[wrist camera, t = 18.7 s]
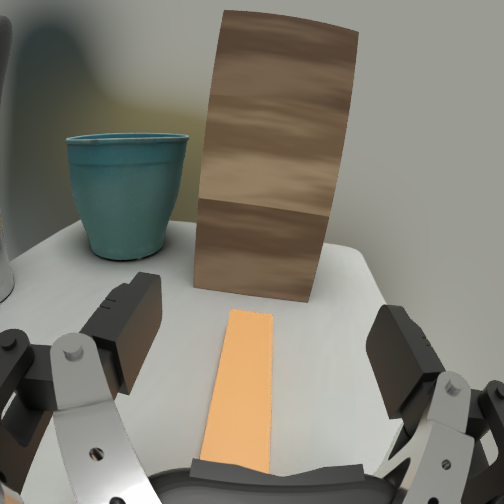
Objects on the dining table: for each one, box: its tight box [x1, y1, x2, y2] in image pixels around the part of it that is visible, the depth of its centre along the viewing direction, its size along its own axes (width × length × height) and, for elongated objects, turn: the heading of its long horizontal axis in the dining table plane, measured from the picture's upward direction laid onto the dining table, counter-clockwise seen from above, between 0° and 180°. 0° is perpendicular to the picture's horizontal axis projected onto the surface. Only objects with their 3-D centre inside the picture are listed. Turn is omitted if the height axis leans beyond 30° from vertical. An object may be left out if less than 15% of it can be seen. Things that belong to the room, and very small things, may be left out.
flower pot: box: [66, 133, 189, 260], centre depth 39 cm, size 18×18×17 cm
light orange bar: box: [200, 309, 273, 474], centre depth 17 cm, size 23×4×3 cm, turn 176°
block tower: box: [194, 10, 359, 302], centre depth 33 cm, size 12×14×32 cm
